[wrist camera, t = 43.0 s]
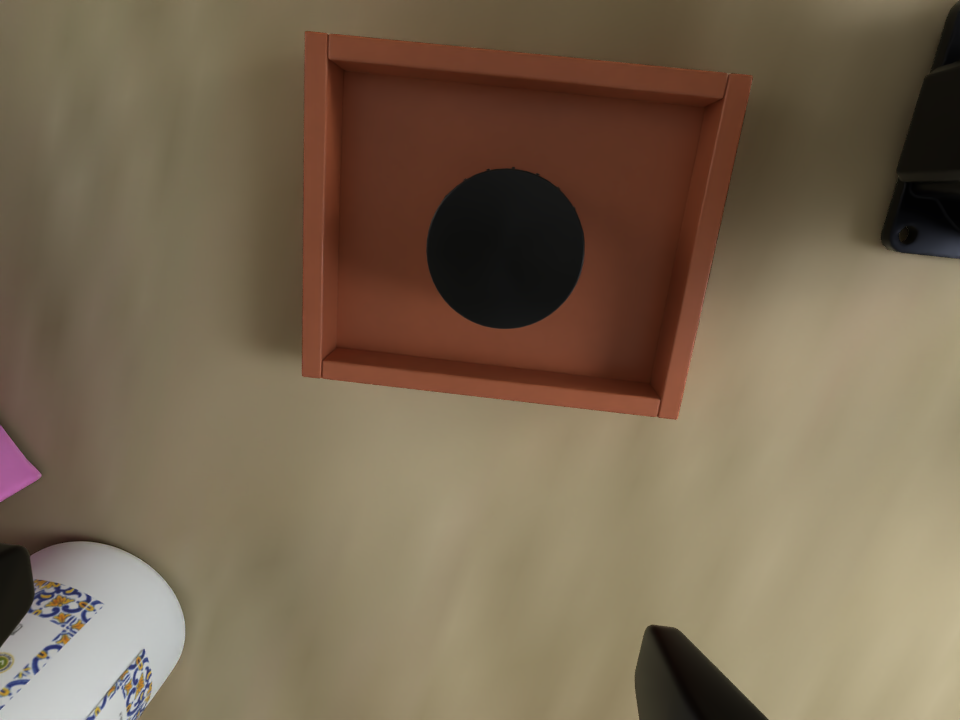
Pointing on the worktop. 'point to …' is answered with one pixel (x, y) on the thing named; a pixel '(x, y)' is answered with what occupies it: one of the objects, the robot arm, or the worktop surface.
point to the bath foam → (90, 637)
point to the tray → (526, 146)
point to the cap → (505, 248)
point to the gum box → (14, 468)
